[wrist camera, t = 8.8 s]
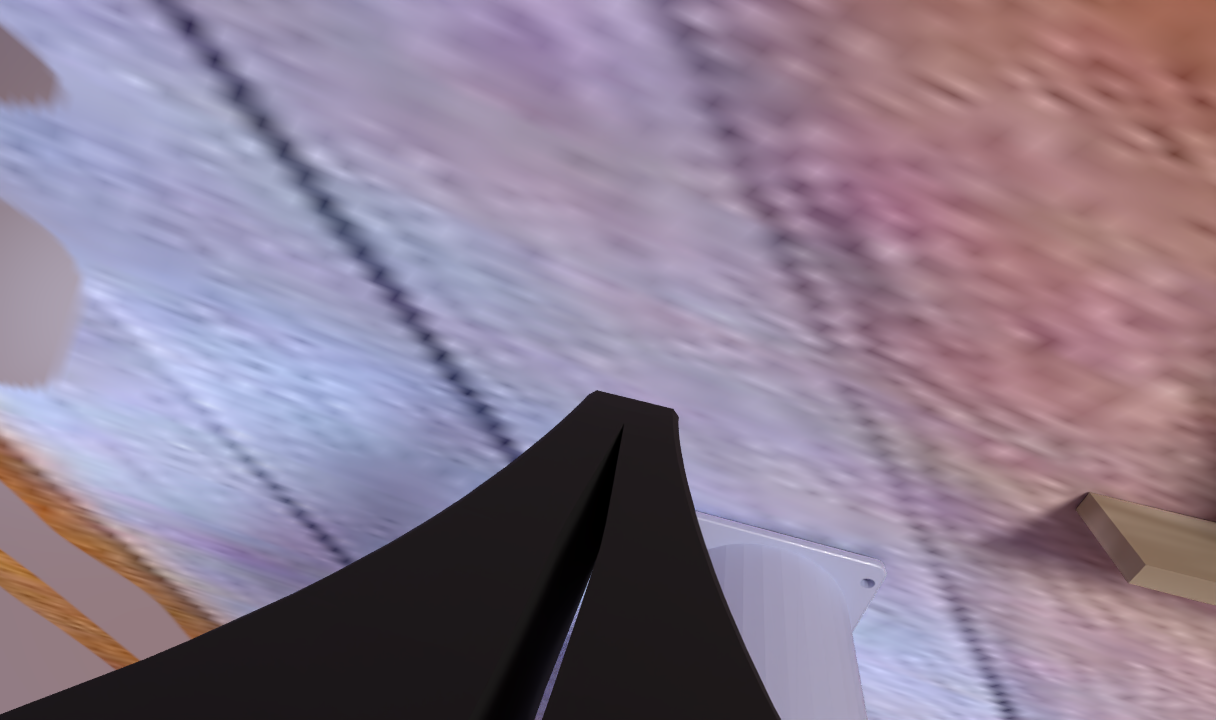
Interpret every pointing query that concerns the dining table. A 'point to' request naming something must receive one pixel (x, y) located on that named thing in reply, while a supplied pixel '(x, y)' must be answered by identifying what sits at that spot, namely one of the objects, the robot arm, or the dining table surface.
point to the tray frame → (1155, 546)
